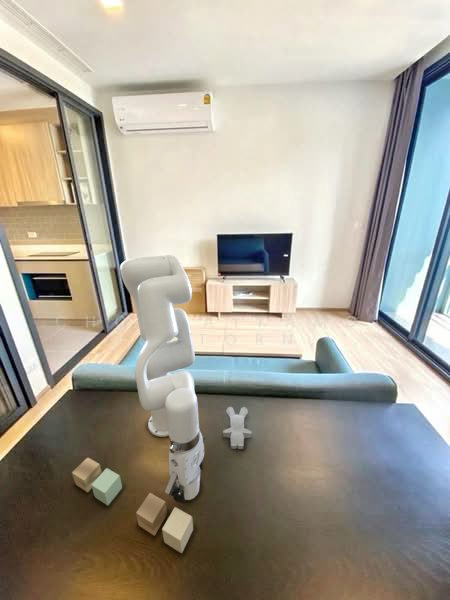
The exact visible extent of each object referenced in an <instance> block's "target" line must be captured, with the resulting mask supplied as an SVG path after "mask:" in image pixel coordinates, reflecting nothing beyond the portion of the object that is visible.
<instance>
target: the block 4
mask: <svg viewBox="0 0 450 600" xmlns="http://www.w3.org/2000/svg"><path fill="white" fill-rule="evenodd" d="M161 530H162V532H161V533H162V538H163V542H164V543H165V545H168V546H169V547H170V548H172V549H174V550H175V551H177V552H179V553H180V554H183V552H184V550H185V548H186V546H187V544H188V542H189V539H190V538H191V535H192V533H193V531H194V519H193V516H192V515H190V514H188V513H187V512H185V511H183V510H182V509H179V508H178V507H176V506H174V508H173V509H172V511H171V513H170V515H169V516H168V517H167V520H166V522H165V523H164V525H163V526H162V528H161Z"/></svg>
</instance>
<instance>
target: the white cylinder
mask: <svg viewBox="0 0 450 600" xmlns="http://www.w3.org/2000/svg"><path fill="white" fill-rule="evenodd" d="M200 480H201V470H200V466H199V467H198V469H197V470H196V472H195V474H194V476H193V477H192V479H191V481H190V482H189V484H188V485H187V486H183V489H182V490H183V491H184V498H185V501H190V500H193V499H195V498H196V496H197V495H198V494H199V492H200V483H201V481H200ZM176 486H177V487H179V486H180V483H178V482H176Z"/></svg>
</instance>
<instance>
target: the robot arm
mask: <svg viewBox="0 0 450 600" xmlns="http://www.w3.org/2000/svg"><path fill="white" fill-rule="evenodd" d="M119 269H120V276H121V279H122V281H123V284H124V286H125V288H126V289H127V292H128V293H129V294H130V296H131V298H132V300H133V303H134V306H135V307H134V308H135V313H136V318H137V322H138V328H139V333H140V336H141V339H142V340H143V341H144V344H143V345H142V347H141V348H140V351H139V353H138V355H137V358H136V361H135V365H134V378H135V382H136V383H135V384H136V389H137V394H138V400H139V403H140V406H141V407H142V409H143V410H144V411H145V412H150V415H151V416H150V417H149V419H148V423H147V427H148V430H149V432H150V433H151V434H152V435H154V436H155V437H159V438H160V437H161V438H164V437H168V439H169V446H170V447H169V450H168V471H169V477H170V479H169V481H168V483H167V486H166V488H165V490H164V494H166V495H167V496H170V497H172V498H173V500H174V501H175V502H176V503H182V504H185V501H186V500H185V498H184V491H183V490H182V489H183V486H187V485H188V484H189V482H190V481H191V479H192V477H193V476H194V474H195V472H196V470H197V469H198V467H199V466H200V471H203V468H204V464H203V459H204V457H205V444H204V443H205V440H206V439H205V438H206V437H205V436H203V435H202V432H201V430H200V422H199V421H200V420H199V406H198V397H197V394H196V391H195V387H196V386H195V385H196V384H195V379H194V376H193V375H192V374H191V373H190V372H189V371H187V370H181V369H186V368H188V367H190V366H192V365H194V363H195V362H196V361H195V360H196V356H195V355H196V353H195V347H194V342H193V341H194V340H193V336H192V330H191V324H190V319H189V316H188V314H187V312H186V311H185V310H184V309H183V308H180V307H174V306H178V305H184V304H185V305H186V304H188V303H190V302H191V300H192V298H193V289H192V284H191V281H190V278H189V276H188V274H187V272H186V270H185V268H184V267H183V265H182V262H181V261H180V260H179V258H178V257H177V256H176V255H171V254H166V255H165V254H164V255H156V256H155V255H154V256H143V257H142V256H141V257H135V258H129V259H126V260H124V261H123V262H122V263H121V264H120V267H119ZM174 338H177V340H173V339H174ZM171 340H173V341H171ZM178 370H180V371H178ZM174 371H177V372H174ZM173 372H174V373H173ZM177 482H178V483H180V486H179V487H178V486H177Z"/></svg>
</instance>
